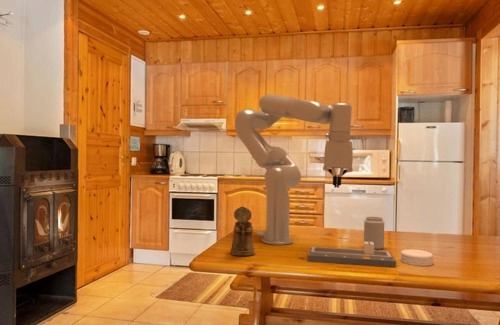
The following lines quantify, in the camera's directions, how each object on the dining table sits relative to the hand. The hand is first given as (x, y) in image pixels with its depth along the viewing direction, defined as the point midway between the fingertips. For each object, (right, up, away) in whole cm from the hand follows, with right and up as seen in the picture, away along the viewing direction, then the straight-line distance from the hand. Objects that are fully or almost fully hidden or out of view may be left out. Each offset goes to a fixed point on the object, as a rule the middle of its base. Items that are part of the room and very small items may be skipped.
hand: (336, 187), depth 139 cm
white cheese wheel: (+25, -25, -11) cm, 37 cm away
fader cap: (+8, -22, -11) cm, 26 cm away
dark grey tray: (+2, -24, -9) cm, 26 cm away
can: (+17, -25, +9) cm, 31 cm away
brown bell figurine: (-35, -24, -5) cm, 42 cm away
